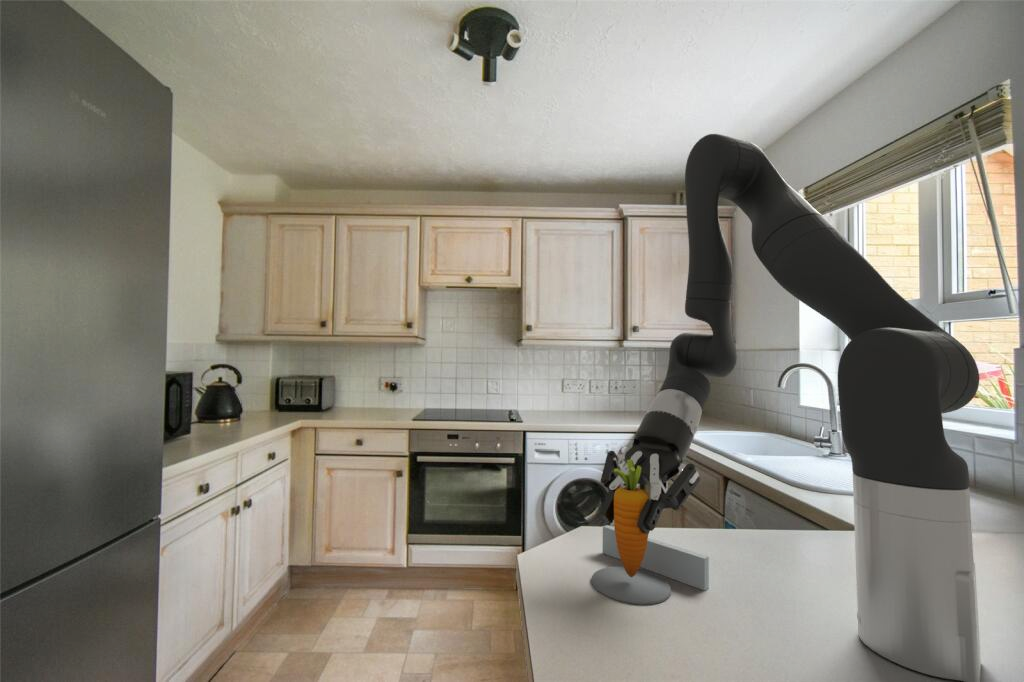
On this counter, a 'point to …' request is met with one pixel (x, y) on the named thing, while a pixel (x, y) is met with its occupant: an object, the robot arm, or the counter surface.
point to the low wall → (666, 560)
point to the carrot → (630, 519)
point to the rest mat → (631, 586)
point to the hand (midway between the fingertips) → (623, 523)
